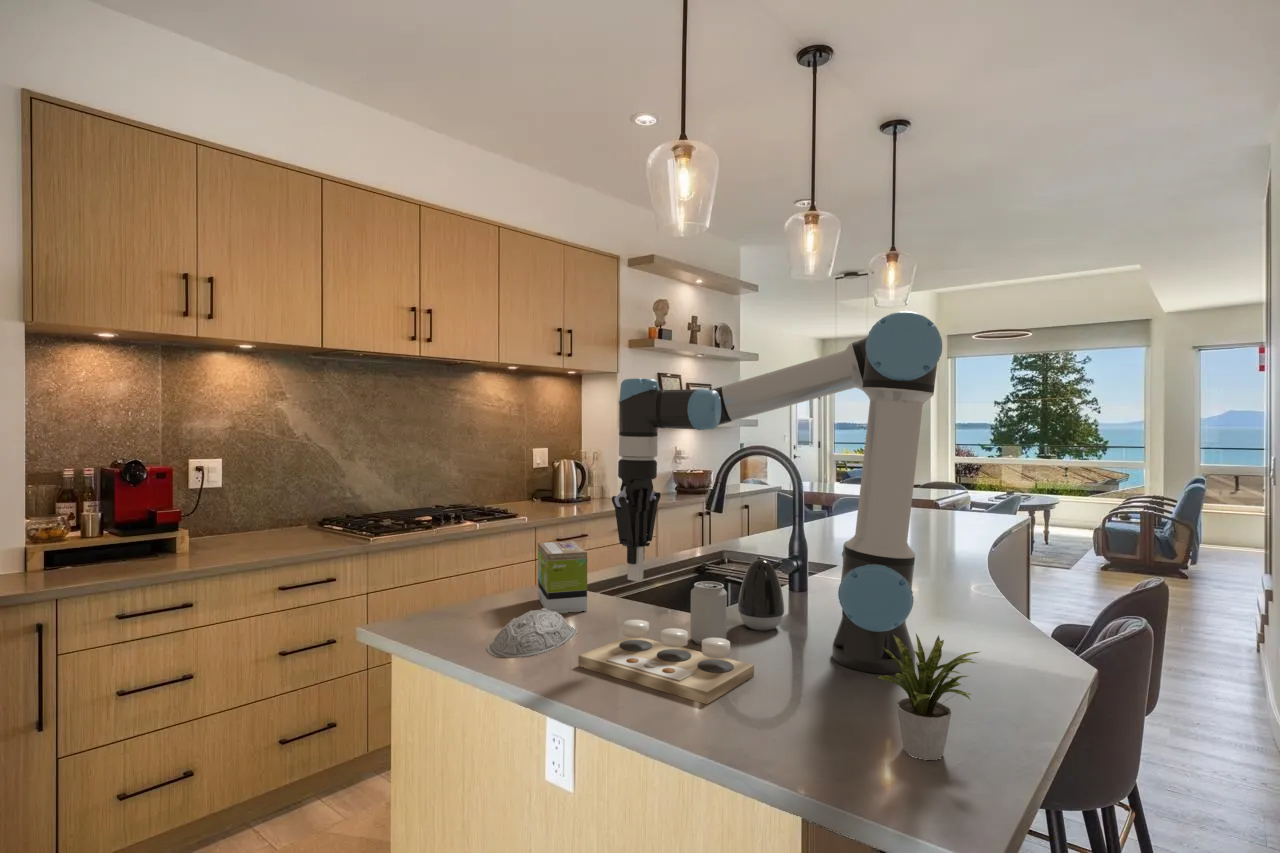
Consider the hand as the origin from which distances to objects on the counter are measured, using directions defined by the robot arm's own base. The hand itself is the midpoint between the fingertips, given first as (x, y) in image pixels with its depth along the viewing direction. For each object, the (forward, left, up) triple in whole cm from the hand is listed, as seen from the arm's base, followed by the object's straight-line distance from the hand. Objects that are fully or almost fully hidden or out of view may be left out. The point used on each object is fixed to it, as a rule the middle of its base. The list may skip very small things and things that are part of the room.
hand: (635, 579), depth 135 cm
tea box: (+37, -18, -15) cm, 44 cm away
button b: (-9, 0, -11) cm, 14 cm away
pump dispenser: (-10, -33, -15) cm, 38 cm away
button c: (0, 0, -11) cm, 11 cm away
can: (-6, -17, -15) cm, 24 cm away
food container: (+23, +5, -16) cm, 28 cm away
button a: (-18, 0, -11) cm, 21 cm away
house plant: (-56, +7, -15) cm, 59 cm away
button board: (-9, +3, -15) cm, 18 cm away
